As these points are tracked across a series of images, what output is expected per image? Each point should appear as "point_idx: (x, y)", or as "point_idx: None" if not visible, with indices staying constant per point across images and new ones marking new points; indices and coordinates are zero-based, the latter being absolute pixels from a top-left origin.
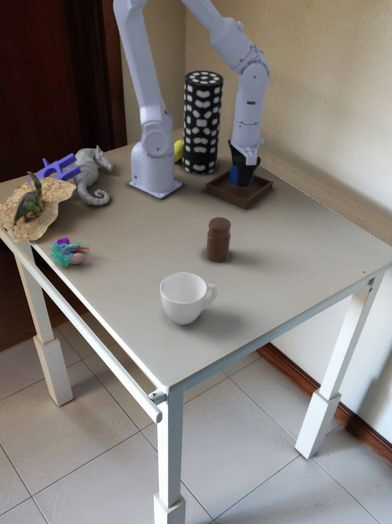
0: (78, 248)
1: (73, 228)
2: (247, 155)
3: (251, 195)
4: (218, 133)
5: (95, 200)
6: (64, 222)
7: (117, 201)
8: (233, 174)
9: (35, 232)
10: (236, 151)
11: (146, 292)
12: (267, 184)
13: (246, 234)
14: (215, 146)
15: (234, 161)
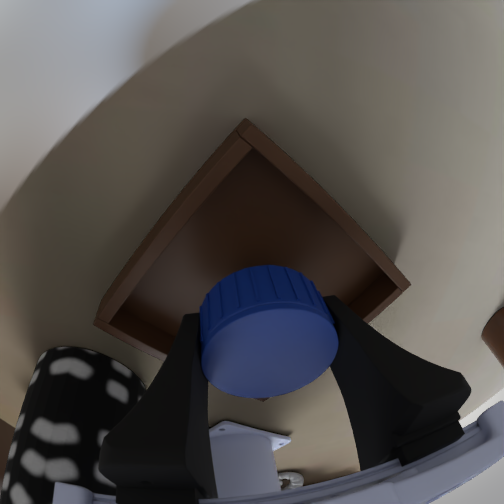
0: None
1: (346, 469)
2: (488, 467)
3: (317, 242)
4: (66, 483)
5: (301, 483)
6: (329, 477)
7: (286, 465)
8: (304, 383)
9: None
10: (207, 452)
11: (491, 381)
12: (285, 170)
13: (484, 269)
14: (96, 446)
15: (205, 401)
